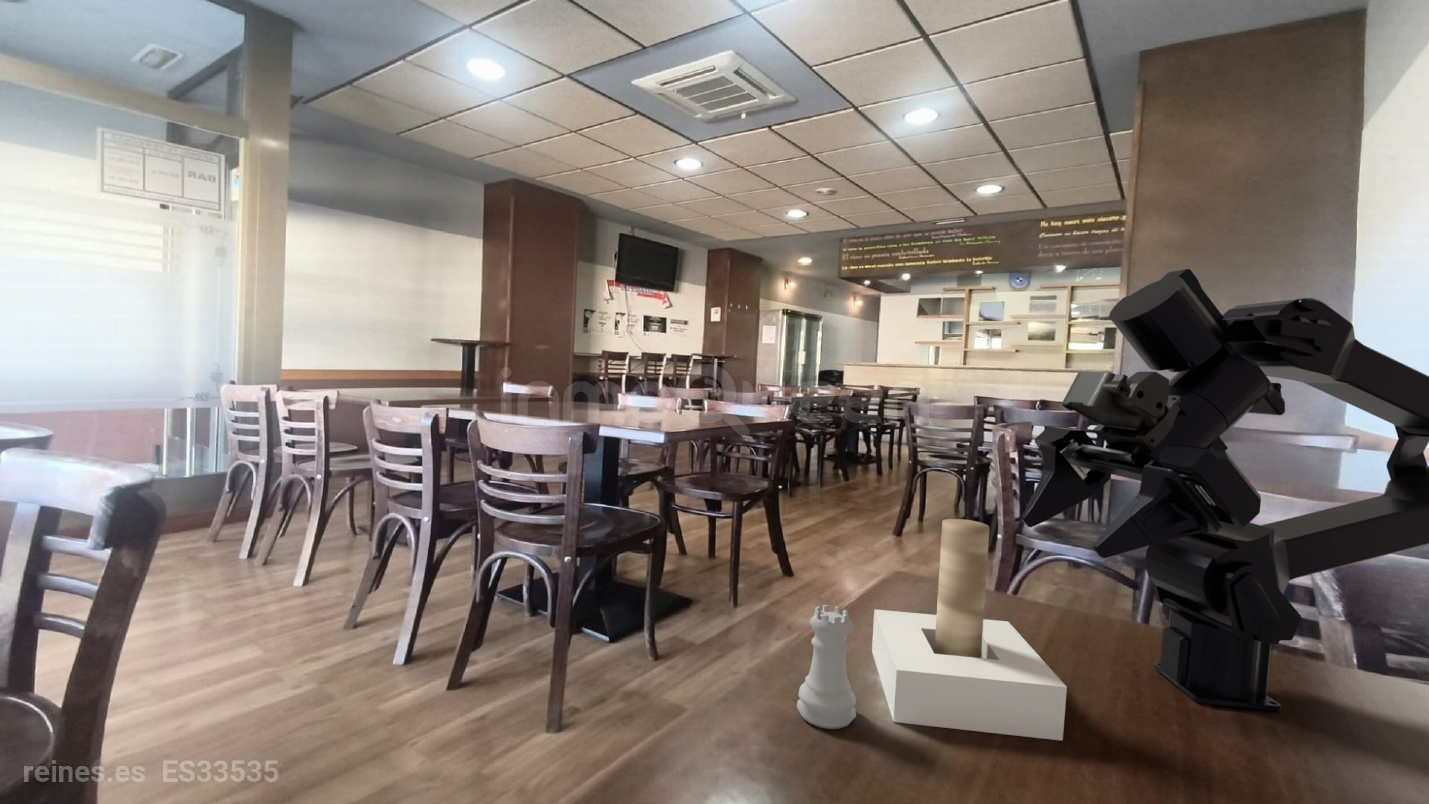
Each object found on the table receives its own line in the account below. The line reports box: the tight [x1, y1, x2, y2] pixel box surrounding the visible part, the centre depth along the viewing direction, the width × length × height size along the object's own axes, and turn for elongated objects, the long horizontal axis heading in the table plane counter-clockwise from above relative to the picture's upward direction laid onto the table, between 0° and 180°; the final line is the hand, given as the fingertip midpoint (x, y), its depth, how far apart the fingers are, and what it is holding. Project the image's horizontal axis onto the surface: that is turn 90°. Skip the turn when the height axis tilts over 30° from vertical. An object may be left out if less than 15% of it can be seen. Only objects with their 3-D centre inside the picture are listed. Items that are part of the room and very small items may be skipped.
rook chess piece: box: [796, 604, 857, 730], centre depth 47 cm, size 4×4×8 cm
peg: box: [934, 518, 990, 658], centre depth 51 cm, size 4×4×13 cm
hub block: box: [871, 609, 1068, 741], centre depth 51 cm, size 12×12×4 cm
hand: (1058, 537), depth 52 cm, fingers open, 9 cm apart
